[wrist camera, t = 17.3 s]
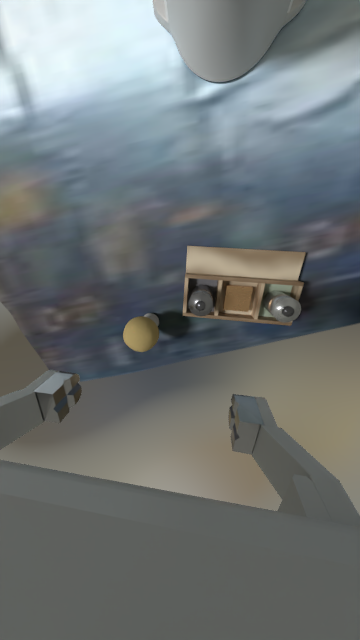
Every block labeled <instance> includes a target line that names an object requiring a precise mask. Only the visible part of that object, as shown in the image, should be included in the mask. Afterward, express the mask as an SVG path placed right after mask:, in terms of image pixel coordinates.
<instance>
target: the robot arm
mask: <svg viewBox="0 0 360 640" xmlns="http://www.w3.org/2000/svg"><path fill="white" fill-rule="evenodd" d="M305 2H306V0H153V8H154V14H155V17H156V19H157V20H158V22H159V23H160V24H161V25H162V26H163V27H164V28H165V29H166V30H167V31H168V32H169V33H170V34H171V35H172V37H173V39H174V41H175V44H176V46H177V48H178V51H179V53H180V55H181V57H182V59H183V60H184V62H185V63H186V65H187V66H188V67H189V68H190V69H191V70H192V71H193V72H194V73H195V74H196V75H198V76H199V77H201V78H203V79H205V80H208V81H213V82H225V81H230V80H233V79H235V78H238V77H240V76H241V75H243V74H245V73H246V72H248V71H249V70H250V69H251V68H252V67H254V66H255V65H256V64H257V63H258V61H259V60H260V59H261V58H262V57H263V56H264V54H265V53H266V51H267V50H268V49H269V47H270V45H271V44H272V42H273V40H274V39H275V37H276V35H277V34H278V33H279V31H280V30H281V28H282V27H283V26H284V25H286V24H287V23H288V22H289V21H290V20H292V19H293V18H294V17H295V16H296V15H297V14H298V13H299V12H300V11H301V9H302V8H303V6H304V5H305ZM79 381H80V378H79V375H78V374H75V373H69V372H63V371H55V370H49V371H47V372H45V373H44V374H43V375H42V376H40V377H39V378H38V379H36V380H35V381H34V382H32V383H31V384H30V385H28V386H27V387H26V388H25V389H23V390H18V391H15V392H13V393H10V394H8V395H5V396H2V397H0V450H1V449H2V448H4V447H5V446H7V445H9V444H10V443H12V442H13V441H15V440H16V439H18V438H20V437H21V436H23V435H24V434H26V433H27V432H29V431H31V430H32V429H34V428H35V427H37V426H38V425H40V424H42V423H43V422H44V421H46V422H55V423H61V422H62V420H63V419H64V418H65V417H66V415H67V414H68V413H69V411H70V407H72V406H74V405H76V404H77V402H78V401H79V399H80V396H81V393H82V388H81V386H80V385H79V384H78V382H79ZM231 403H232V406H231V407H230V408H229V428H230V429H231V430H232V433H231V443H232V449H233V451H236V452H241V453H246V454H251V455H252V456H253V458H254V459H255V461H256V462H257V463H258V465H259V467H260V468H261V469H262V471H263V472H264V474H265V475H266V477H267V478H268V480H269V481H270V483H271V484H272V485H273V487H274V488H275V490H276V491H277V493H278V494H279V495H280V497H281V498H282V502H281V504H280V506H279V509H278V511H272V510H267V509H261V508H256V507H251V506H245V505H240V504H235V503H229V502H224V501H218V500H213V499H208V498H203V497H197V496H192V495H186V494H181V493H175V492H170V491H165V490H159V489H154V488H149V487H143V486H138V485H133V484H127V483H122V482H117V481H111V480H106V479H100V478H95V477H89V476H84V475H79V474H74V473H68V472H63V471H57V470H52V469H47V468H41V467H36V466H30V465H25V464H20V463H14V462H9V461H4V460H0V640H360V516H359V514H358V513H357V510H356V509H355V507H354V505H353V503H352V502H351V500H350V498H349V497H348V495H347V493H346V491H345V490H344V488H343V486H342V485H341V483H340V481H339V480H338V479H336V477H334V476H333V475H332V474H331V473H330V472H329V471H328V470H327V469H326V468H325V467H323V466H322V465H321V464H320V463H319V462H318V461H317V460H316V459H315V458H314V457H313V456H311V455H310V454H309V453H308V452H307V451H306V450H305V449H304V448H303V447H301V445H299V444H298V443H297V442H296V441H295V440H294V439H293V438H292V437H291V436H290V435H288V434H287V433H286V432H285V431H284V430H283V429H282V428H279V427H277V424H276V422H275V419H274V417H273V415H272V412H271V410H270V408H269V405H268V403H267V400H266V399H265V398H262V397H252V396H244V395H236V394H233V395H232V398H231Z"/></svg>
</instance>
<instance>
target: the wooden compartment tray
mask: <svg viewBox="0 0 360 640" xmlns="http://www.w3.org/2000/svg"><path fill="white" fill-rule="evenodd" d="M305 253H306V252H289V251H270V250H252V249H234V248H216V247H198V246H188V247H187V263H186V274H185V288H184V304H183V316H192V317H202V318H213V319H224V320H235V321H246V322H257V323H268V324H279V325H290V326H291V324H292V321H291V322H288V323H283V322H280V321H278V320H277V319H276V318H275V317H274V316H272V315H271V314H270V313H269V312H268V311H267V310H266V309H265V308H264V306H263V303H262V301H263V298H264V296H265V295H266V294H267V293H268V292H270V291H273V290H278V291H281V292H283V293H284V294H286V295H288V296H290V297H292V298H293V299H295V300H297V301H299V298H300V294H301V291H302V288H303V284H304V283H303V282H300V281H298V278H299V274H300V271H301V267H302V264H303V260H304V257H305ZM198 285H206V286H208V287H209V288H210V289H211V290H212V294H213V308H212V311H211V312H210V313H209V314H208V315H206V316H196V315H194V314H193V313H192V312H191V311H190V309H189V306H188V304H189V300H190V297H191V294H192V291H193V289H194V288H195V287H196V286H198ZM226 285H238V286H251V287H253V291H252V296H251V301H250V306H249V311H248V312H243V311H232V310H223V304H224V298H225V291H226Z"/></svg>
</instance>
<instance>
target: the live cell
mask: <svg viewBox="0 0 360 640" xmlns="http://www.w3.org/2000/svg"><path fill="white" fill-rule="evenodd" d="M262 303H263V306H264V308H265V309H266V310H267V311H268V312H269V313H270V314H271V315H272V316H274V317H275V318H276V319H277V320H278V321H280V322H283V323H288V322H291V321H293V320H295V319H296V318H297V317H298V316H299V315H300V312H301V305H300V303H299V302H298V301H297V300H295V299H293V298H292V297H290V296H288V295H286V294H284V293H283V292H281V291H278V290H273V291H270V292H268V293H267V294H266V295H265V296H264V298H263V301H262Z"/></svg>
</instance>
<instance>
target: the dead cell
mask: <svg viewBox="0 0 360 640" xmlns="http://www.w3.org/2000/svg"><path fill="white" fill-rule="evenodd" d="M188 306H189V309H190V311H191V312H192V313H193V314H194V315H196V316H206V315H208V314H209V313H210V312H211V311H212V308H213V294H212V290H211V289H210V288H209V287H208V286H206V285H198V286H196V287H195V288H194V289H193V291H192V294H191V297H190V300H189V304H188Z"/></svg>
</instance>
